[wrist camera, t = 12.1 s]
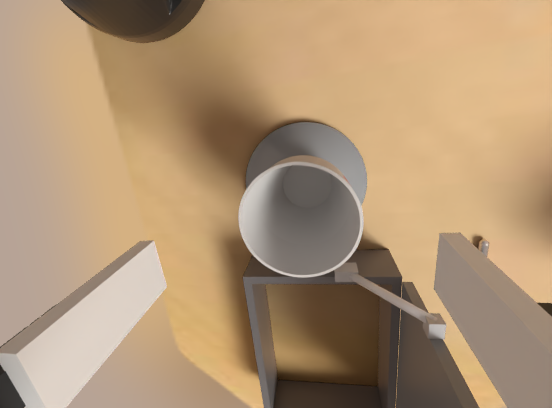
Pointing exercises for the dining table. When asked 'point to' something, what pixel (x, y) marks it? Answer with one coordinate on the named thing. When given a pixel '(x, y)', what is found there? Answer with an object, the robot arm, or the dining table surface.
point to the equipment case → (412, 346)
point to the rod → (483, 246)
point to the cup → (301, 217)
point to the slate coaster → (310, 152)
